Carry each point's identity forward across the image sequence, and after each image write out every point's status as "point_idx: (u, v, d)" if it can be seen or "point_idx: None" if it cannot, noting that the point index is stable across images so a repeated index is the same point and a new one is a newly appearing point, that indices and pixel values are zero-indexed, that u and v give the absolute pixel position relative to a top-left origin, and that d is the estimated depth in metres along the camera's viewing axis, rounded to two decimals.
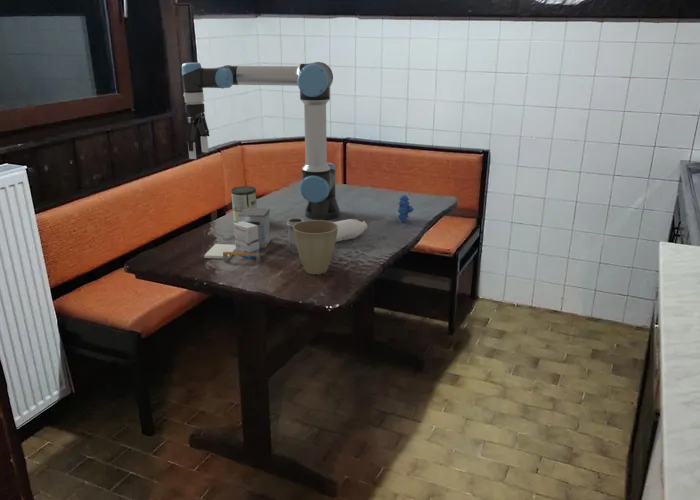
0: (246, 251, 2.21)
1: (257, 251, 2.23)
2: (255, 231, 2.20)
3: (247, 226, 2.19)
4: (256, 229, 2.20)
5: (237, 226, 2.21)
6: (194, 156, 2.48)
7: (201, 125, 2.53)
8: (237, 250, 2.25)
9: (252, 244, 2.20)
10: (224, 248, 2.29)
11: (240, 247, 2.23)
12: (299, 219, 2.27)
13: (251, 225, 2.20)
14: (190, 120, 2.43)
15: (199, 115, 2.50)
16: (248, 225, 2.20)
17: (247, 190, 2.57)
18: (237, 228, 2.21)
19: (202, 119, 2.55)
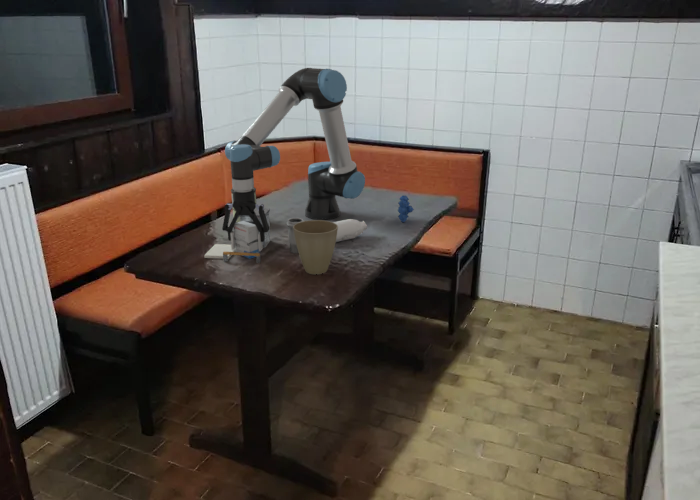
0: (246, 251, 2.21)
1: (257, 251, 2.23)
2: (255, 231, 2.20)
3: (247, 226, 2.19)
4: (256, 229, 2.20)
5: (237, 226, 2.21)
6: None
7: None
8: (237, 250, 2.25)
9: (252, 244, 2.20)
10: (224, 248, 2.29)
11: (240, 247, 2.23)
12: (299, 219, 2.27)
13: (251, 225, 2.20)
14: None
15: (247, 203, 2.17)
16: (248, 225, 2.20)
17: None
18: (237, 228, 2.21)
19: None
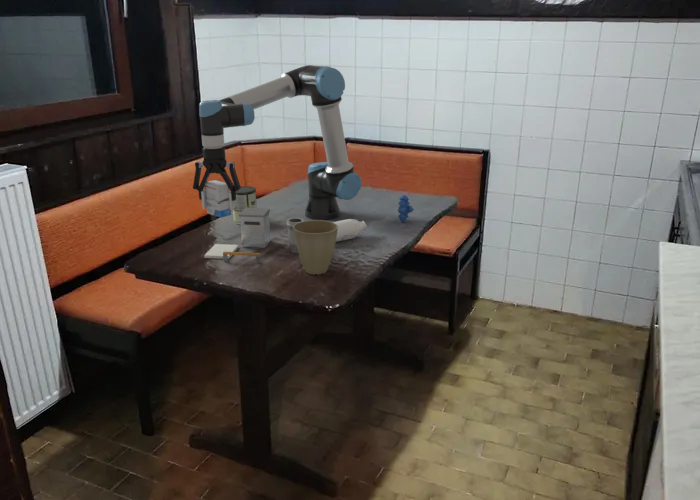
0: (217, 210, 2.18)
1: (228, 210, 2.20)
2: (226, 189, 2.17)
3: (217, 184, 2.16)
4: (227, 187, 2.17)
5: (208, 184, 2.18)
6: None
7: None
8: (208, 209, 2.22)
9: (222, 202, 2.17)
10: (224, 248, 2.29)
11: (211, 206, 2.20)
12: (299, 219, 2.27)
13: (222, 183, 2.17)
14: None
15: (217, 161, 2.14)
16: (219, 183, 2.17)
17: (247, 190, 2.57)
18: (207, 187, 2.18)
19: (230, 170, 2.16)
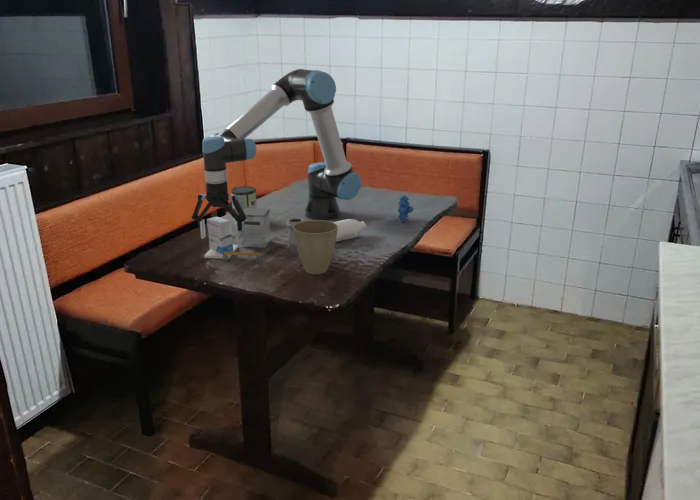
0: (219, 246, 2.23)
1: (230, 246, 2.25)
2: (228, 226, 2.22)
3: (220, 222, 2.20)
4: (229, 224, 2.22)
5: (210, 221, 2.23)
6: None
7: None
8: (211, 245, 2.27)
9: (224, 239, 2.22)
10: None
11: (214, 243, 2.25)
12: (299, 219, 2.27)
13: (224, 220, 2.22)
14: None
15: (220, 196, 2.19)
16: (221, 220, 2.22)
17: (247, 190, 2.57)
18: (210, 224, 2.23)
19: None
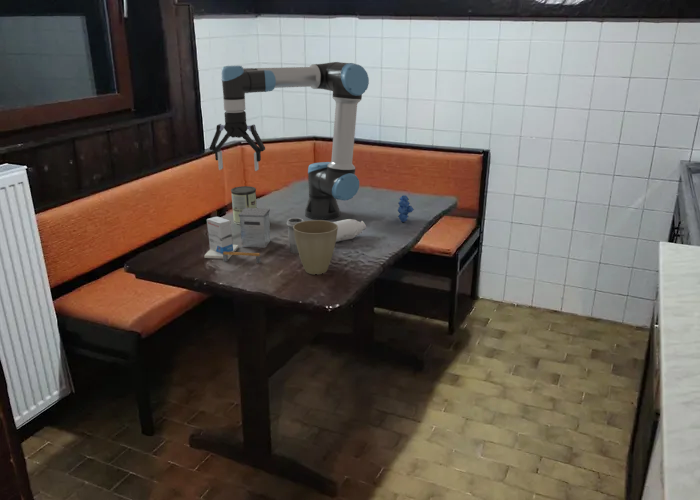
0: (219, 246, 2.23)
1: (230, 246, 2.25)
2: (228, 226, 2.22)
3: (220, 222, 2.20)
4: (229, 224, 2.22)
5: (210, 221, 2.23)
6: None
7: None
8: (211, 245, 2.27)
9: (224, 239, 2.22)
10: None
11: (214, 243, 2.25)
12: (299, 219, 2.27)
13: (224, 220, 2.22)
14: None
15: (238, 126, 2.20)
16: (221, 220, 2.22)
17: (247, 190, 2.57)
18: (210, 224, 2.23)
19: (252, 132, 2.21)
